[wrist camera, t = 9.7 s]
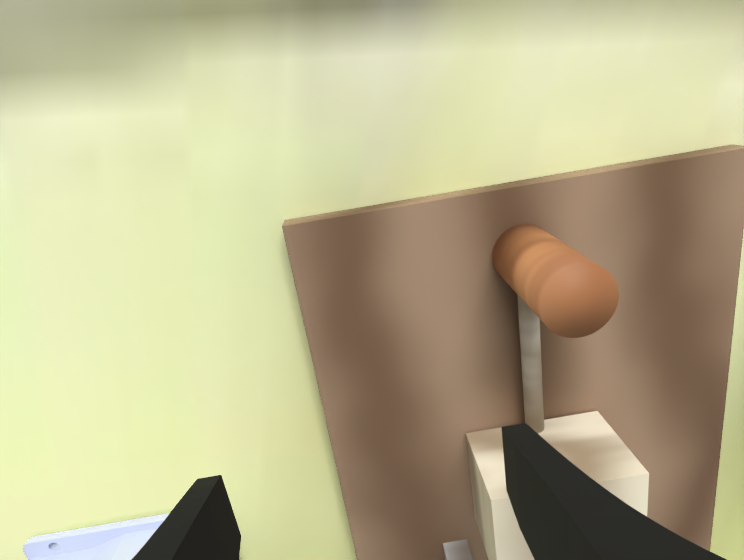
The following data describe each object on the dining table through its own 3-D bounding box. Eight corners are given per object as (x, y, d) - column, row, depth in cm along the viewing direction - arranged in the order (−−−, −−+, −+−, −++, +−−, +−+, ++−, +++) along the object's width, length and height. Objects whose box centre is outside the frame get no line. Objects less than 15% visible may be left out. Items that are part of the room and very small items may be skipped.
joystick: (475, 518, 24) (507, 619, 19) (443, 237, 19) (477, 281, 15) (597, 497, 24) (659, 592, 20) (597, 211, 19) (680, 247, 15)
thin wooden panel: (405, 763, 32) (411, 815, 30) (284, 220, 20) (277, 236, 17) (680, 715, 32) (707, 763, 30) (732, 144, 20) (785, 150, 18)
